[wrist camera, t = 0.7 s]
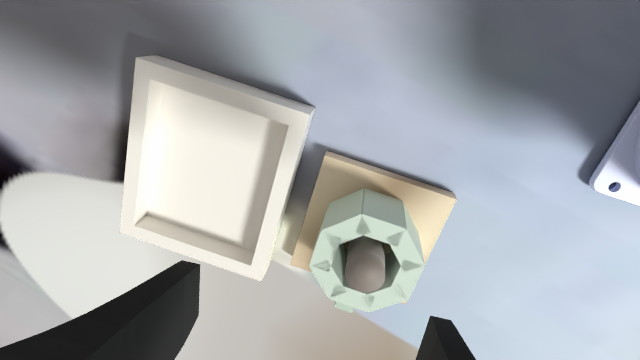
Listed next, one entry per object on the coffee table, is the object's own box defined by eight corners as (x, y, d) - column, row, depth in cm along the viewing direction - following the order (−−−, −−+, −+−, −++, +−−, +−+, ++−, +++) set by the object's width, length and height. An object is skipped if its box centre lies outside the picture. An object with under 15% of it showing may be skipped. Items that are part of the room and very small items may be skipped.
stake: (454, 193, 20) (473, 237, 16) (404, 295, 23) (409, 356, 18) (326, 150, 20) (312, 183, 16) (292, 256, 23) (272, 308, 19)
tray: (315, 107, 19) (309, 114, 18) (269, 263, 23) (261, 281, 22) (156, 54, 20) (135, 57, 18) (137, 218, 23) (119, 232, 22)
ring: (429, 209, 20) (437, 239, 17) (387, 300, 22) (388, 339, 19) (337, 179, 20) (330, 203, 17) (305, 272, 22) (294, 307, 19)
